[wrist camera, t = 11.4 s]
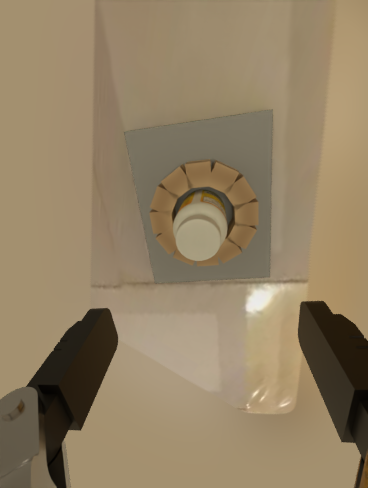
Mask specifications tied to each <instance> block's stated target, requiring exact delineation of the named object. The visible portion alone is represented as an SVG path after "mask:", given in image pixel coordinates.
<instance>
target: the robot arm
mask: <svg viewBox="0 0 368 488" xmlns="http://www.w3.org/2000/svg"><path fill="white" fill-rule="evenodd" d="M298 338H299V343H300V346H301V349H302V351H303V354H304V356H305V358H306V360H307V363H308V365H309V367H310V370H311V372H312V374H313V377H314V379H315V381H316V384H317V386H318V388H319V391H320V393H321V395H322V397H323V400H324V402H325V405H326V407H327V409H328V411H329V414H330V416H331V418H332V421H333V423H334V425H335V428H336V430H337V432H338V435H339V437H340V439H341V441H342V442H351V443H352V442H353V443H356V445H357V447H358V450H359V452H360V454H361V458H360V461H359V466H358V471H357V475H356V481H355V485H354V488H368V341H367V340H366V338H364V335H363V334H362V333H361V332H360V330H359V329H358V328H357V327H356V325H355V324H354V323H353V322H351V321H350V320H348V319H347V318H346V317H344V316H343V315H341V314H333V313H332V312H331V310H330V309H329V307H328V306H327V305H326V303H325V302H324V301H306V302H301V305H300V315H299V326H298ZM117 345H118V335H117V331H116V328H115V325H114V321H113V318H112V315H111V312H110V310H109V309H108V308H99V309H90V310H89V311H88V312H87V314H86V315H85V316H84V318H83V319H82V321H78V322H77V323H75V324H74V325H73V326H72V327H71V328H69V329H68V330H67V331H66V333H65V334H64V336H63V337H62V338H61V340H60V342H58V344H57V345H56V346H55V348H54V351H52V352H51V353H50V355H49V356H48V357H47V359H46V360H45V361H44V363H43V364H42V366H41V367H40V368H39V370H38V371H37V372H36V374H35V375H34V377H33V378H32V379H31V381H30V382H29V383H28V385H27V386H26V387H22V388H19V389H16V390H14V391H12V392H10V393H9V394H7V395H6V396H4V397H3V398H2V399H0V488H71V485H70V477H69V468H68V460H67V452H66V445H65V441H64V438H65V436H66V434H67V432H68V430H81V429H82V427H83V424H84V422H85V420H86V417H87V415H88V413H89V411H90V408H91V406H92V404H93V401H94V399H95V397H96V395H97V392H98V390H99V388H100V385H101V383H102V381H103V378H104V376H105V374H106V372H107V369H108V367H109V365H110V362H111V360H112V358H113V356H114V353H115V351H116V349H117Z"/></svg>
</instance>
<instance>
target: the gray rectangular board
mask: <svg viewBox="0 0 368 488" xmlns="http://www.w3.org/2000/svg"><path fill="white" fill-rule="evenodd" d="M272 122H273V110H266V111H259V112H253V113H246V114H239V115H233V116H226V117H219V118H213V119H206V120H199V121H193V122H186V123H179V124H173V125H166V126H159V127H153V128H146V129H139V130H133V131H126V132H124V134H125V139H126V144H127V149H128V154H129V159H130V164H131V168H132V173H133V178H134V183H135V188H136V193H137V198H138V203H139V208H140V212H141V217H142V222H143V227H144V232H145V237H146V242H147V247H148V252H149V256H150V261H151V266H152V271H153V276H154V281H155V283H172V282H191V281H209V280H227V279H246V278H264V277H270V243H271V183H272ZM205 159H210V161H211V169H212V166H213V164H214V162H215V160H217V161H220V162H222V163H224V164H226V165H228V166H230V167H233V168H235V169H237V170H238V172H239V173H241V174H242V175H243V176H244V178H245V179H246V181H247V182H248V184H249V185H250V187H251V188H252V190H253V192H254V193H255V195H256V196H257V197H256V199H257V201H258V225H255V227H256V229H257V231H256V233H255V234H254V236H253V238H252V239H251V241H250V243H249V244H248V246H247V248H246V249H244V248H242V247H241V250H242V253H241V254H239V255H237V256H235V257H234V258H232V259H230V260H229V261H227V262H225V263H224V264H223V263H222V261H221V260H220V259H219V257H218V263H219V265H212V266H197V261H195V262H194V264H193V266H192V265H190V264H187V263H185V262H183V261H180V260H178V259H176V258H173V256H174V252H175V251H174V252H172V253H171V254H168V253H167V252H166V250H165V249H164V248H163V247H162V246H161V244H160V243H159V242H158V241H157V240H156V236H157V235H158V234H153V230H152V224H151V219H150V214H149V212H150V211H151V210H152V208H150V205H151V203H152V200H153V197H154V194H155V192H156V189H157V186H158V185H159V184H160V183H161V181H162V180H163V179H164V178H166V177H167V176H168V175H169V174H171V173H172V172H173V171H174V170H176V169H177V168H178V167H179V166H181V165H182V164H183V165H184V166H185V164H186V163H187V162H190V161H198V160H205ZM200 189H206V190H210V191H213V192H214V193H216V194H217V195H218V196H219V197H220V198H221V199H222V201H223V203H224V207H225V213H226V220H227V226H228V224H229V222H230V221H231V219H232V217H233V206H232V203H231V202H230V200H229V199H228V197H227V196H226V194H225V193H223V192H220V191H218V190H216V189H214V188H211V187H209V186H208V187H198V188H191V189H190V190H188V191H187V192H186V193H184V194H183V195H182V196H180V197H179V198H178V200H177V203H176V205H175V211H176V215H177V213H178V211H179V209H180V207H181V205H182V203H183V201H184V199H185V198H186V197H187V196H188V195H189V194H190V193H192V192H193V191H196V190H200Z"/></svg>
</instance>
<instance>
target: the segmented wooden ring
mask: <svg viewBox="0 0 368 488" xmlns="http://www.w3.org/2000/svg"><path fill="white" fill-rule="evenodd" d="M208 186H209V187H211V188H214V189H216V190H218V191H220V192H223V193H225V194H226V196H227V197H228V199H229V200H230V202H231V203H232V206H233V217H232V219H231V221H230V222H229V224H228V226H227V235H226V238H225V240H224V242H223V243H222V245H221V246H220V248H219V250H218V251H217V253H216V254H215V255H214V256H212V257H211V258H209V259H207V260H203V261H197V266H212V265H219V263H218V257H219V259H220V260H221V261H222V263H223V264H224V263H225V262H227V261H229V260H230V259H232V258H234V257H235V256H237V255H239V254H241V253H242V250H241V247H242V248H244V249H246V248H247V246H248V244H249V243H250V241H251V239H252V238H253V236H254V234H255V233H256V231H257V229H256V227H255V225H258V201H257V199H256V197H257V196H256V195H255V193H254V192H253V190H252V188H251V187H250V185H249V184H248V182H247V181H246V179H245V178H244V176H243V175H242V174H241V173H239V172H238V170H237V169H235V168H233V167H230V166H228V165H226V164H224V163H222V162H220V161H217V160H215V162H214V164H213V166H212V169H211V161H210V159H205V160H198V161H190V162H187V163H186V164H185V166H184V165H183V164H182V165H181V166H179V167H178V168H177V169H176V170H174V171H173V172H172V173H171V174H169V175H168V176H167V177H166V178H164V179H163V180H162V181H161V183H160V184H159V185H158V186H157V189H156V192H155V194H154V197H153V200H152V203H151V205H150V208H152V210H151V211H150V212H149V214H150V219H151V224H152V230H153V234H158V235H157V236H156V240H157V241H158V242H159V243H160V244H161V246H162V247H163V248H164V249H165V250H166V252H167V253H168V254H171V253H172V252H174V251H175V252H174V256H173V258H176V259H178V260H180V261H183V262H185V263H187V264H190V265H192V266H193V264H194V262H195V261H194V260H190V259H188V258H186V257H185V256H183V255H182V254H181V253H180V251H179V250H178V248H177V246H176V239H175V237H174V233H173V223H174V219H175V217H176V211H175V205H176V203H177V200H178V198H179V197H180V196H182V195H183V194H184V193H186V192H187V191H188V190H190V189H191V188H198V187H208Z"/></svg>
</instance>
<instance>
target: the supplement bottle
mask: <svg viewBox="0 0 368 488" xmlns="http://www.w3.org/2000/svg"><path fill="white" fill-rule="evenodd" d="M173 233H174V237H175V239H176V246H177V248H178V250H179V251H180V253H181V254H182V255H183V256H185V257H186V258H188V259H190V260H194V261H203V260H207V259H209V258H211V257H212V256H214V255H215V254H216V253H217V251H218V250H219V248H220V246H221V245H222V243H223V242H224V240H225V238H226V235H227V220H226V213H225V207H224V203H223V201H222V199H221V198H220V197H219V196H218V195H217V194H216V193H214V192H213V191H210V190H206V189H200V190H196V191H193V192H192V193H190V194H189V195H188V196H187V197H186V198H185V199H184V201H183V203H182V205H181V207H180V209H179V211H178V213H177V215H176V217H175V219H174V223H173Z"/></svg>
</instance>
